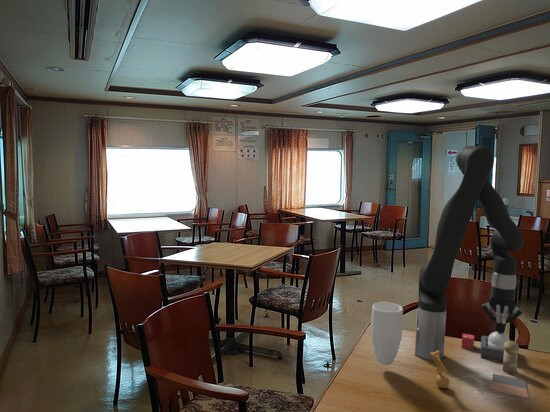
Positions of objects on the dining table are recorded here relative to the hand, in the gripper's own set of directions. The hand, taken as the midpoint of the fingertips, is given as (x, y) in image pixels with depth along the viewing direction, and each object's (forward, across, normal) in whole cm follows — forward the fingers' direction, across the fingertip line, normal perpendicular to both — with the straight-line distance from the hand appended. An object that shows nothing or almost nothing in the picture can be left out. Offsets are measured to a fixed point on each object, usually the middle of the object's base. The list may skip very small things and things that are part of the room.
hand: (499, 332), depth 148 cm
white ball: (+7, 0, 0) cm, 7 cm away
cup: (+8, -34, -31) cm, 47 cm away
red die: (+8, -10, +2) cm, 13 cm away
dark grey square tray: (+8, 0, 0) cm, 8 cm away
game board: (+8, +2, -22) cm, 24 cm away
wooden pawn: (+8, +3, -12) cm, 15 cm away
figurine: (+8, -17, -34) cm, 39 cm away
